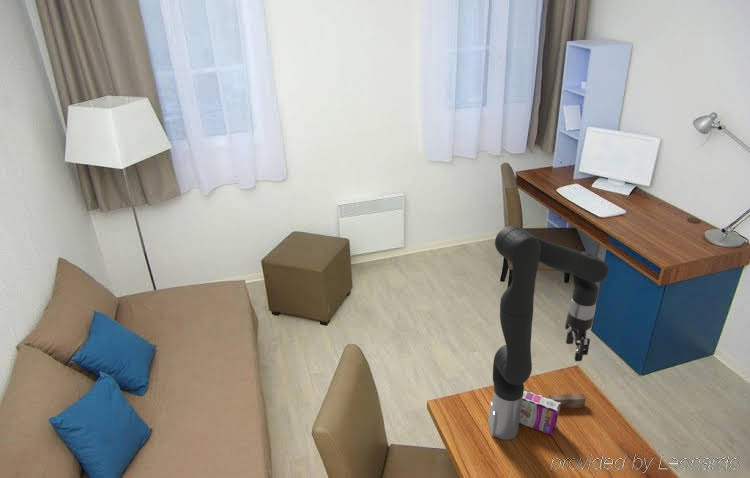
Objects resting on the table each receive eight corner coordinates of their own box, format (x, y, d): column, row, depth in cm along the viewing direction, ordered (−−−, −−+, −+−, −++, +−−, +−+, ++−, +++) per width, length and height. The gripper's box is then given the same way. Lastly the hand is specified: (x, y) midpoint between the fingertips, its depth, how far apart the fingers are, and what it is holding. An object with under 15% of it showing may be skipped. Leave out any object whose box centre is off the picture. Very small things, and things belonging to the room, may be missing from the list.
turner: (527, 412, 182) (529, 404, 180) (523, 399, 187) (524, 391, 185) (585, 411, 181) (587, 403, 179) (579, 398, 187) (581, 390, 185)
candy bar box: (561, 401, 171) (512, 384, 178) (558, 411, 167) (507, 393, 174) (556, 426, 176) (508, 408, 183) (553, 436, 172) (504, 418, 179)
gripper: (562, 299, 171) (555, 338, 179) (577, 325, 159) (569, 366, 166) (585, 298, 171) (577, 337, 179) (602, 325, 159) (592, 366, 166)
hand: (573, 351), depth 173 cm, fingers open, 8 cm apart
